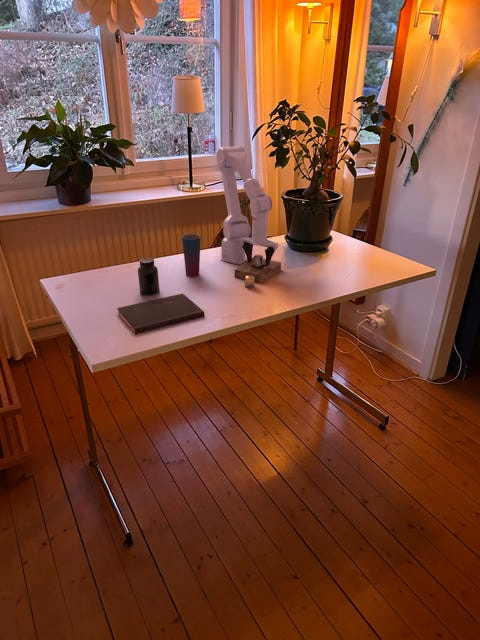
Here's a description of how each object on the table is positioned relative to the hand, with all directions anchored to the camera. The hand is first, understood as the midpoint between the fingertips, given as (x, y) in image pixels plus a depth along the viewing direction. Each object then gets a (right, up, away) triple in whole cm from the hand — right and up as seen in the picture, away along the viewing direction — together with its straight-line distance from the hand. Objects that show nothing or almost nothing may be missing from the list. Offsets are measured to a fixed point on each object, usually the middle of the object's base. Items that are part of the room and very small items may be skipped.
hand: (258, 263), depth 179 cm
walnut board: (0, -3, +2) cm, 4 cm away
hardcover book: (-32, -21, -30) cm, 48 cm away
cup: (-25, -4, 0) cm, 26 cm away
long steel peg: (0, -4, +2) cm, 4 cm away
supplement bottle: (-39, -12, -15) cm, 43 cm away
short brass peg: (-4, -9, -10) cm, 14 cm away
